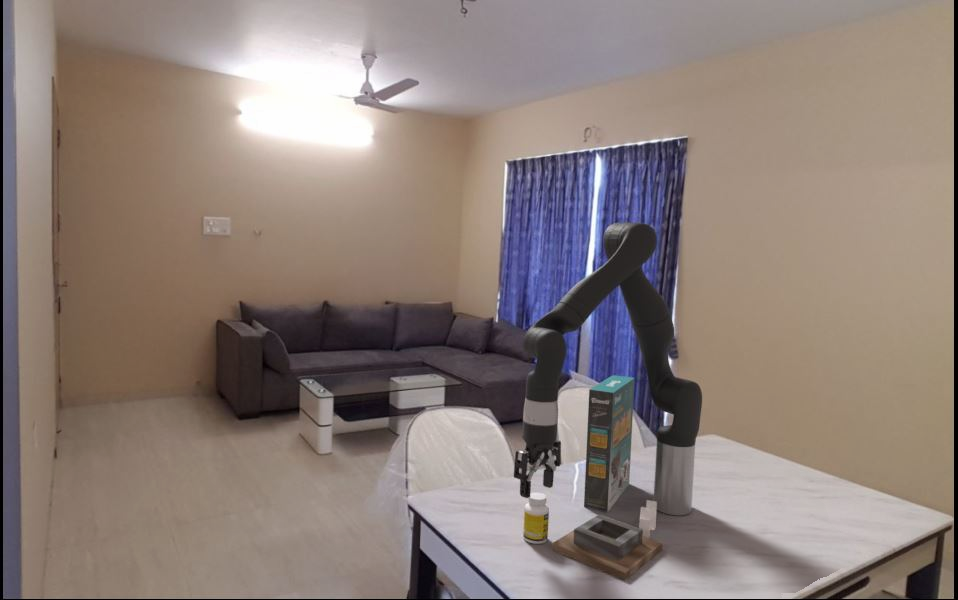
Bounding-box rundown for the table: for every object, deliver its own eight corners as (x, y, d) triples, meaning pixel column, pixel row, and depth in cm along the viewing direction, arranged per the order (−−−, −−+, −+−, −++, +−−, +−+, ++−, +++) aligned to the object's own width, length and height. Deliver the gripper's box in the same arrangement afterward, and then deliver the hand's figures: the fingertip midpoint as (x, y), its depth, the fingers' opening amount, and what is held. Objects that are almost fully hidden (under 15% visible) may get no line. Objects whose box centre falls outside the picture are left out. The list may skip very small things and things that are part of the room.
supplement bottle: (546, 546, 128) (548, 502, 127) (521, 543, 129) (523, 499, 128) (548, 534, 133) (550, 492, 132) (524, 531, 134) (526, 489, 133)
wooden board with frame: (593, 524, 139) (594, 505, 138) (662, 549, 128) (663, 529, 127) (552, 549, 126) (553, 529, 126) (624, 580, 115) (626, 558, 115)
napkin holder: (647, 550, 128) (649, 524, 128) (608, 529, 137) (610, 505, 137) (691, 534, 136) (692, 510, 136) (651, 515, 146) (652, 493, 145)
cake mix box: (607, 479, 168) (613, 375, 166) (629, 483, 165) (634, 377, 163) (583, 506, 149) (589, 389, 147) (607, 512, 146) (613, 392, 144)
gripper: (535, 429, 121) (531, 506, 122) (572, 417, 132) (568, 488, 133) (506, 421, 126) (503, 495, 127) (545, 410, 137) (541, 479, 138)
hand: (536, 491), depth 130 cm, fingers open, 8 cm apart
